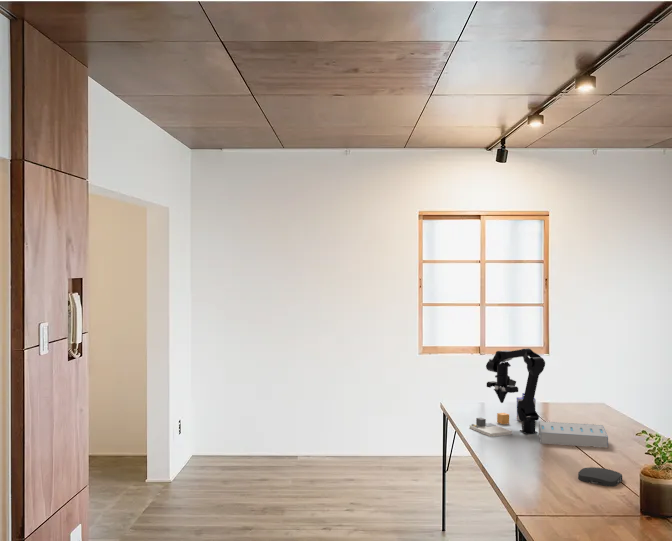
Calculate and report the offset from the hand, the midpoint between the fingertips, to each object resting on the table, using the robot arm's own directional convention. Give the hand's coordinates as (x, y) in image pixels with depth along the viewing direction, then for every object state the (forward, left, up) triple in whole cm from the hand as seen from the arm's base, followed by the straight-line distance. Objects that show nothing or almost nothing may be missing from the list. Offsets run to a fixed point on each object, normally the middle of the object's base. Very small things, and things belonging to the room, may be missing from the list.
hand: (501, 402), depth 342 cm
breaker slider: (-6, +17, -9) cm, 20 cm away
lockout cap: (0, -1, -11) cm, 11 cm away
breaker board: (-12, +16, -11) cm, 22 cm away
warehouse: (-42, -10, -12) cm, 45 cm away
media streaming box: (-89, +20, -12) cm, 92 cm away
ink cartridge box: (+1, -17, -11) cm, 21 cm away
